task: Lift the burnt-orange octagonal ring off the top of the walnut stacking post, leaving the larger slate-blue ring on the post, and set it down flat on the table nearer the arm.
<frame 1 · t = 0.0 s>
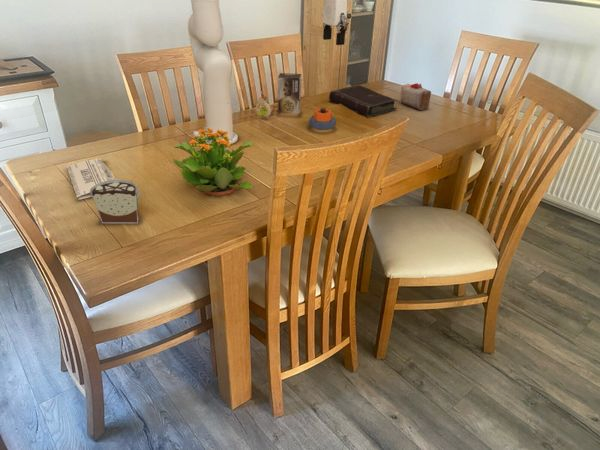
hand: (333, 42, 172), 31 cm above the table, tool pointing down, fingers open, 9 cm apart
coffee box: (289, 114, 197), on the table
cake slice: (123, 217, 125), on the table
orange ring: (322, 118, 182), point 4 cm above the table, touching blue ring
newspaper: (93, 180, 143), on the table
ring post: (322, 128, 184), on the table
blue ring: (322, 125, 183), point 1 cm above the table, touching orange ring, ring post
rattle: (267, 117, 193), on the table
potted flower: (219, 190, 139), on the table
food item: (413, 106, 211), on the table
diary: (362, 106, 209), on the table
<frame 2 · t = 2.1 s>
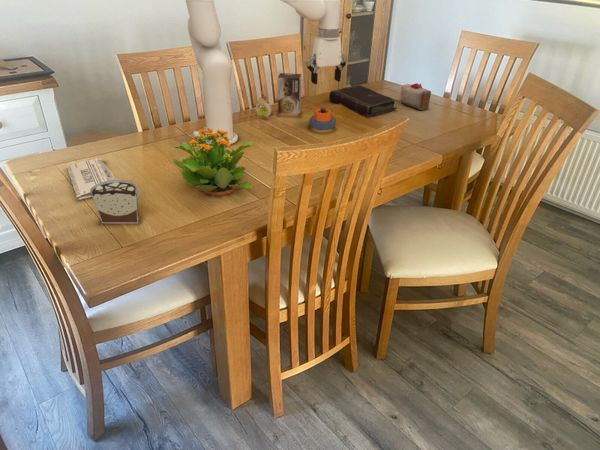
hand: (325, 82, 175), 18 cm above the table, tool pointing down, fingers open, 9 cm apart
nothing on the table moved.
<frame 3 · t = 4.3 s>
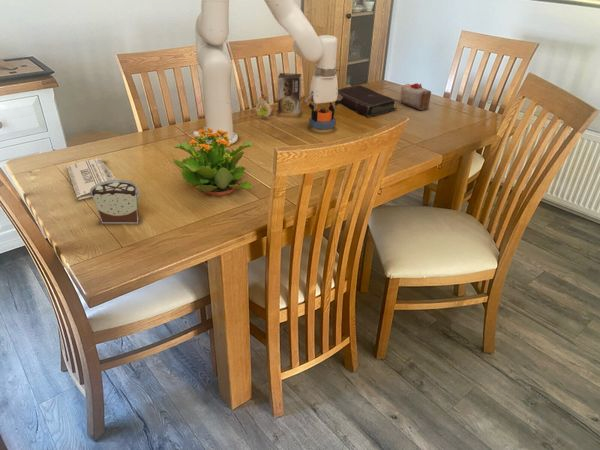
hand: (322, 118, 182), 4 cm above the table, tool pointing down, fingers closed on blue ring, orange ring, 6 cm apart
orange ring: (322, 118, 182), point 4 cm above the table, touching gripper
blue ring: (322, 125, 183), point 1 cm above the table, touching gripper, ring post
everything else where it was.
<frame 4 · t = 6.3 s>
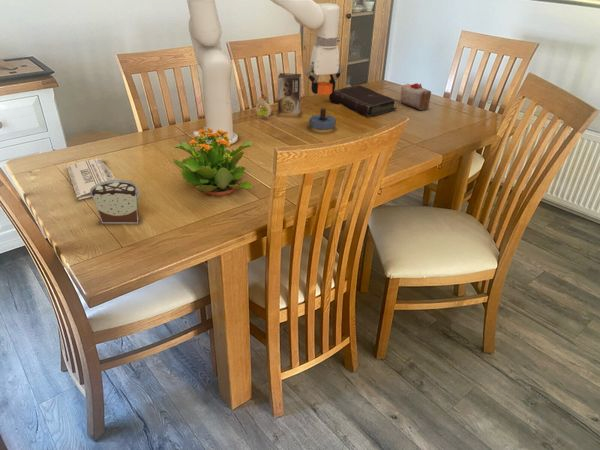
hand: (323, 91, 176), 15 cm above the table, tool pointing down, fingers closed on orange ring, 6 cm apart
orange ring: (323, 92, 176), point 14 cm above the table, touching gripper
blue ring: (322, 125, 183), point 1 cm above the table, touching ring post
everything else where it was.
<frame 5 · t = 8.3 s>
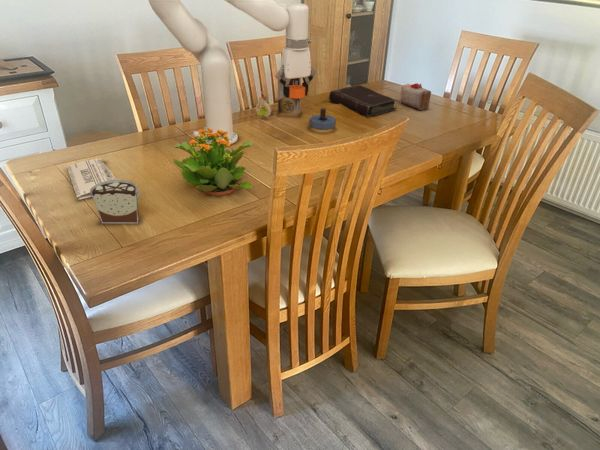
hand: (295, 95, 169), 15 cm above the table, tool pointing down, fingers closed on orange ring, 6 cm apart
orange ring: (295, 95, 169), point 15 cm above the table, touching gripper
everything else where it was.
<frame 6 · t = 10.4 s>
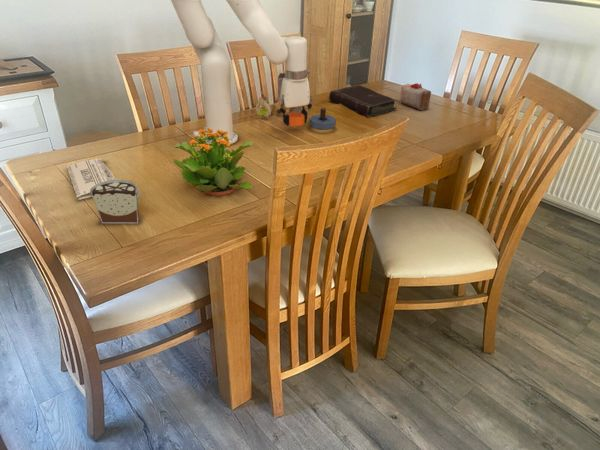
hand: (295, 122, 175), 5 cm above the table, tool pointing down, fingers closed on orange ring, 6 cm apart
orange ring: (295, 123, 175), point 5 cm above the table, touching gripper
everything else where it was.
when the fingers open (0 cm above the table, at t = 12.1 s): orange ring stays where it is, on the table.
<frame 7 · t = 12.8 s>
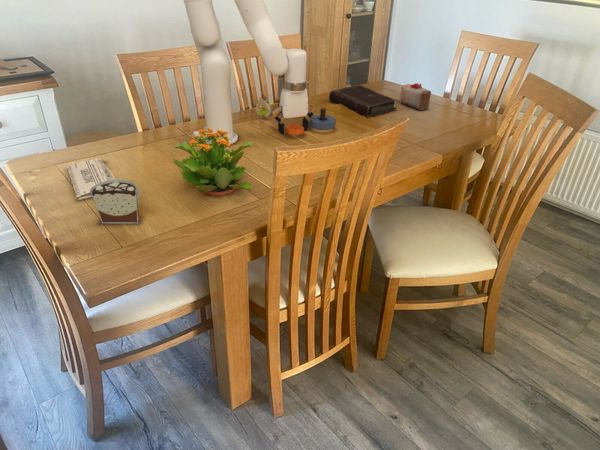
hand: (293, 131, 176), 2 cm above the table, tool pointing down, fingers open, 9 cm apart
orange ring: (294, 135, 177), on the table
everything else where it was.
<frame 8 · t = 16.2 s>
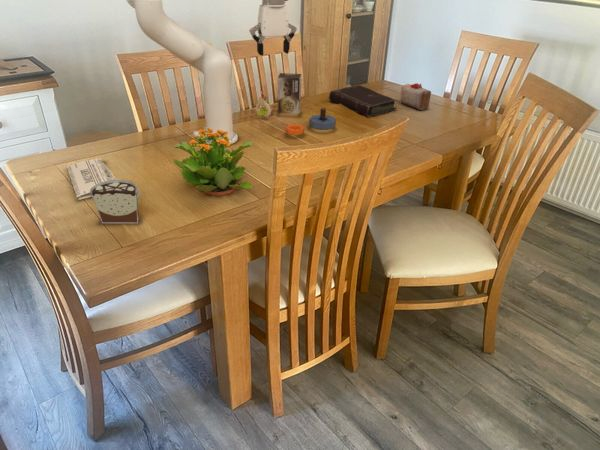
hand: (273, 53, 166), 28 cm above the table, tool pointing down, fingers open, 9 cm apart
nothing on the table moved.
at the end: orange ring inside the target area (0.2 cm from its centre), on the table; orange ring tilted 0°; blue ring moved 0.0 cm from its start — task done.
